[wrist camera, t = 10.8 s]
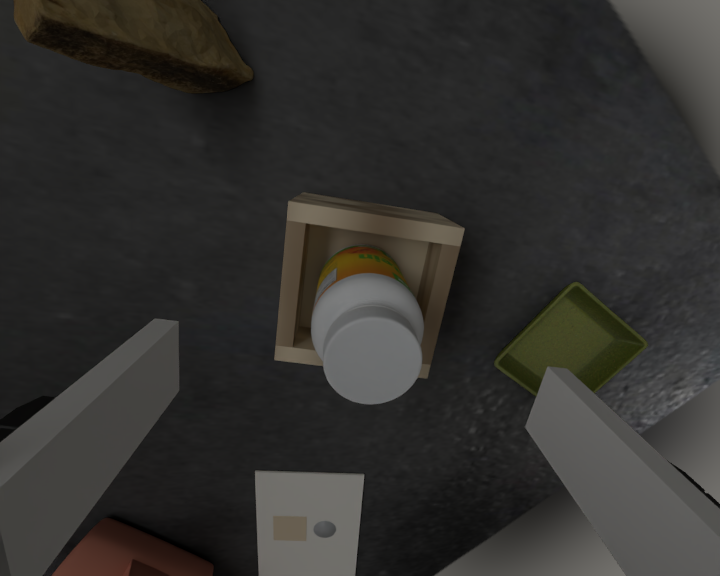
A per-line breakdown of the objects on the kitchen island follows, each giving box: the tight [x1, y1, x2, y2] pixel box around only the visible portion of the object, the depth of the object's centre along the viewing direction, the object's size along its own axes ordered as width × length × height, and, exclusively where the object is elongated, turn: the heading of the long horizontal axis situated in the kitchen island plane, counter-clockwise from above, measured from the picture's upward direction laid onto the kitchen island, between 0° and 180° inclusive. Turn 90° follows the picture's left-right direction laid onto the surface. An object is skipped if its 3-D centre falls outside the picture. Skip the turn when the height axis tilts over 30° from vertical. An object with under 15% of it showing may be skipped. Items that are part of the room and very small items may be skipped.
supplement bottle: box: [311, 244, 424, 404], centre depth 19 cm, size 5×5×10 cm
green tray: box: [494, 282, 648, 396], centre depth 28 cm, size 9×9×2 cm
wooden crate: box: [274, 192, 465, 379], centre depth 23 cm, size 10×10×6 cm
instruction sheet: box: [255, 470, 364, 576], centre depth 35 cm, size 10×14×1 cm
